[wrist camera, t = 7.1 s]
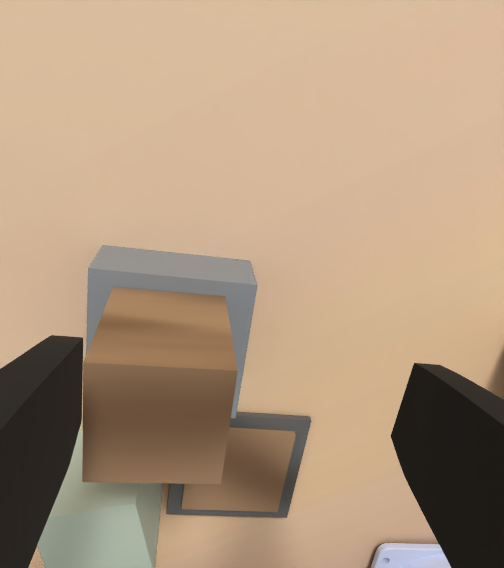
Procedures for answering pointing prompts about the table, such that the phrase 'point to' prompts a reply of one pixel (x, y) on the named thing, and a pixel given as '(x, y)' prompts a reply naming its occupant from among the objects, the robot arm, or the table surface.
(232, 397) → the walnut block
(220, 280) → the base block
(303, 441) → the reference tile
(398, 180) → the table surface
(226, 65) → the table surface
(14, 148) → the table surface
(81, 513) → the sage block
